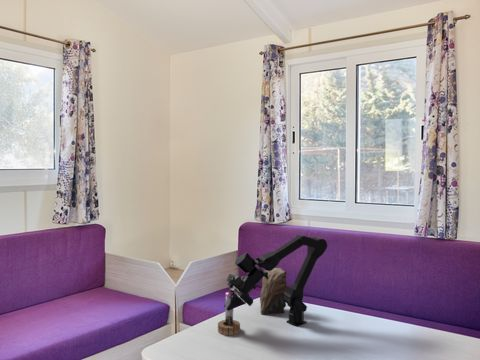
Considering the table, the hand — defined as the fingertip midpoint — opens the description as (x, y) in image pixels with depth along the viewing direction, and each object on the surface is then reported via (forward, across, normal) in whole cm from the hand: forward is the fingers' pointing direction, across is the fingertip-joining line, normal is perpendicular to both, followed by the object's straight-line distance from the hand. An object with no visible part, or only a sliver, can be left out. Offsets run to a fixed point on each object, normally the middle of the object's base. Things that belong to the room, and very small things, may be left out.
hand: (226, 308), depth 174 cm
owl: (-12, -17, +26) cm, 33 cm away
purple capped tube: (+4, 0, +6) cm, 7 cm away
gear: (+6, 0, +8) cm, 10 cm away
